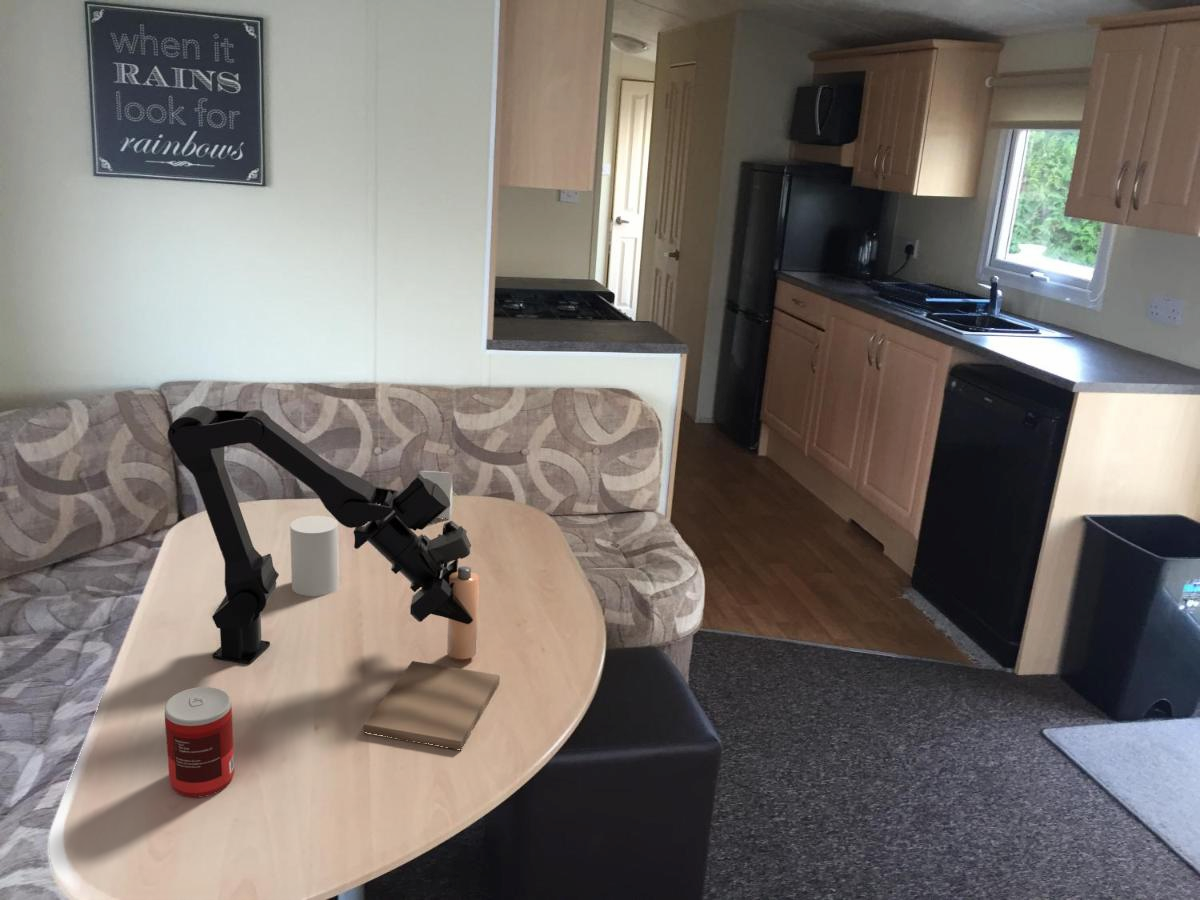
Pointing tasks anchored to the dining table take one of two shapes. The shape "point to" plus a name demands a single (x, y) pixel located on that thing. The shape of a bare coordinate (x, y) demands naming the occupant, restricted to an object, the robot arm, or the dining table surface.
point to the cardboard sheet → (433, 705)
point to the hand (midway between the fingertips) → (471, 614)
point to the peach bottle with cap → (467, 592)
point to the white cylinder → (314, 555)
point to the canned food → (199, 741)
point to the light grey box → (442, 487)
